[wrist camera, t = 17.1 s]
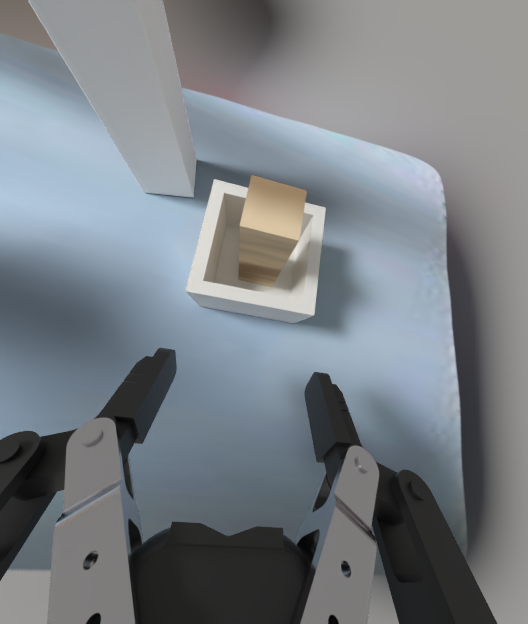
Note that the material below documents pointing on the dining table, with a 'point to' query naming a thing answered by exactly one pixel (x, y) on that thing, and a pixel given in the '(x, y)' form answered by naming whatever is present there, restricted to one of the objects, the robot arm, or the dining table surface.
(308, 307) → the white well
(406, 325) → the dining table surface
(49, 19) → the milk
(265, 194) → the beech post
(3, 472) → the robot arm
